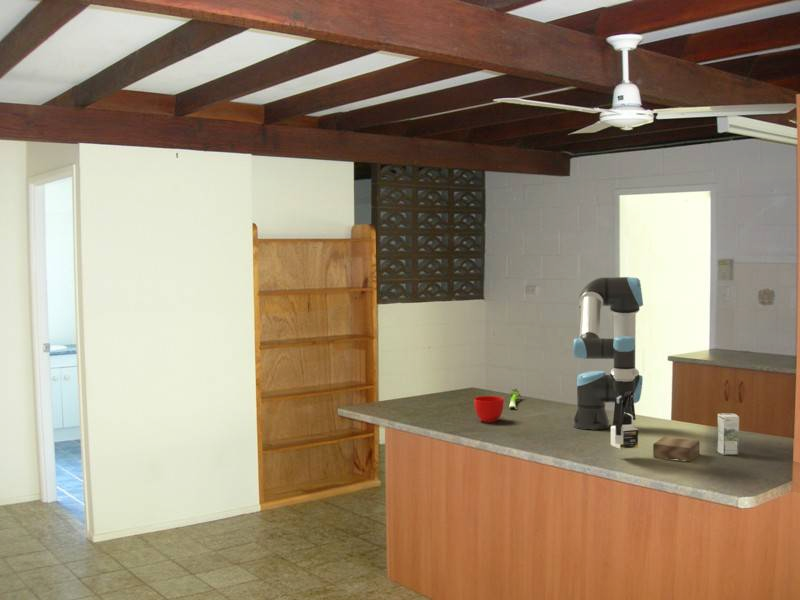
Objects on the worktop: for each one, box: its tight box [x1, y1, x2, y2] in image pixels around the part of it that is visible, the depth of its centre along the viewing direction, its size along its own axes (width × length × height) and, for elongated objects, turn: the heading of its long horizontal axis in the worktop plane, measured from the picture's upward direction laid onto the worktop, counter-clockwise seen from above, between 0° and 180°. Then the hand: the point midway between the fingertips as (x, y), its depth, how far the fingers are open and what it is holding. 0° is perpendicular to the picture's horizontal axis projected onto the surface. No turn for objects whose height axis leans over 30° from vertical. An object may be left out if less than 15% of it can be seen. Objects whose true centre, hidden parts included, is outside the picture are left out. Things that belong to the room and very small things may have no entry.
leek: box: [508, 388, 522, 410], centre depth 416 cm, size 6×7×30 cm
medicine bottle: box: [610, 413, 639, 450], centre depth 307 cm, size 7×7×12 cm
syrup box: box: [716, 412, 740, 456], centre depth 312 cm, size 6×6×14 cm
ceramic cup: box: [473, 395, 505, 423], centre depth 378 cm, size 13×17×10 cm
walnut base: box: [652, 436, 701, 462], centre depth 309 cm, size 13×13×5 cm
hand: (624, 440), depth 307 cm, fingers closed on medicine bottle, 10 cm apart
